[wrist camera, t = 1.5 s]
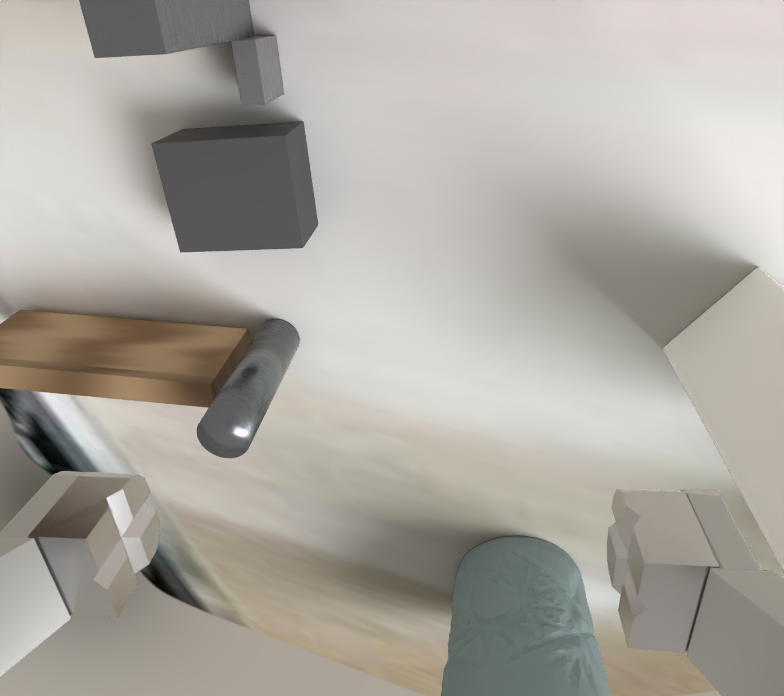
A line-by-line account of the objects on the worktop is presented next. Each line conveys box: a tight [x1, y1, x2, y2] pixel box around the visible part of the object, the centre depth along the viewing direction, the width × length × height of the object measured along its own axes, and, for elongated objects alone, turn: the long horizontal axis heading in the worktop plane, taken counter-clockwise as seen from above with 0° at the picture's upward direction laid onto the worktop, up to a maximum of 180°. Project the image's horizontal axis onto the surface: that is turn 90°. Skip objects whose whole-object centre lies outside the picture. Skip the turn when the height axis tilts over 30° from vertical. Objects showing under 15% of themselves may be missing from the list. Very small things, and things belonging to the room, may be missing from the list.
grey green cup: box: [441, 536, 610, 696], centre depth 37 cm, size 10×10×12 cm
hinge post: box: [197, 319, 300, 458], centre depth 31 cm, size 2×2×9 cm
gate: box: [0, 310, 249, 408], centre depth 32 cm, size 13×1×6 cm, turn 88°
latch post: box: [79, 0, 284, 105], centre depth 23 cm, size 4×3×9 cm
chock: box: [152, 122, 318, 252], centre depth 29 cm, size 5×6×4 cm
